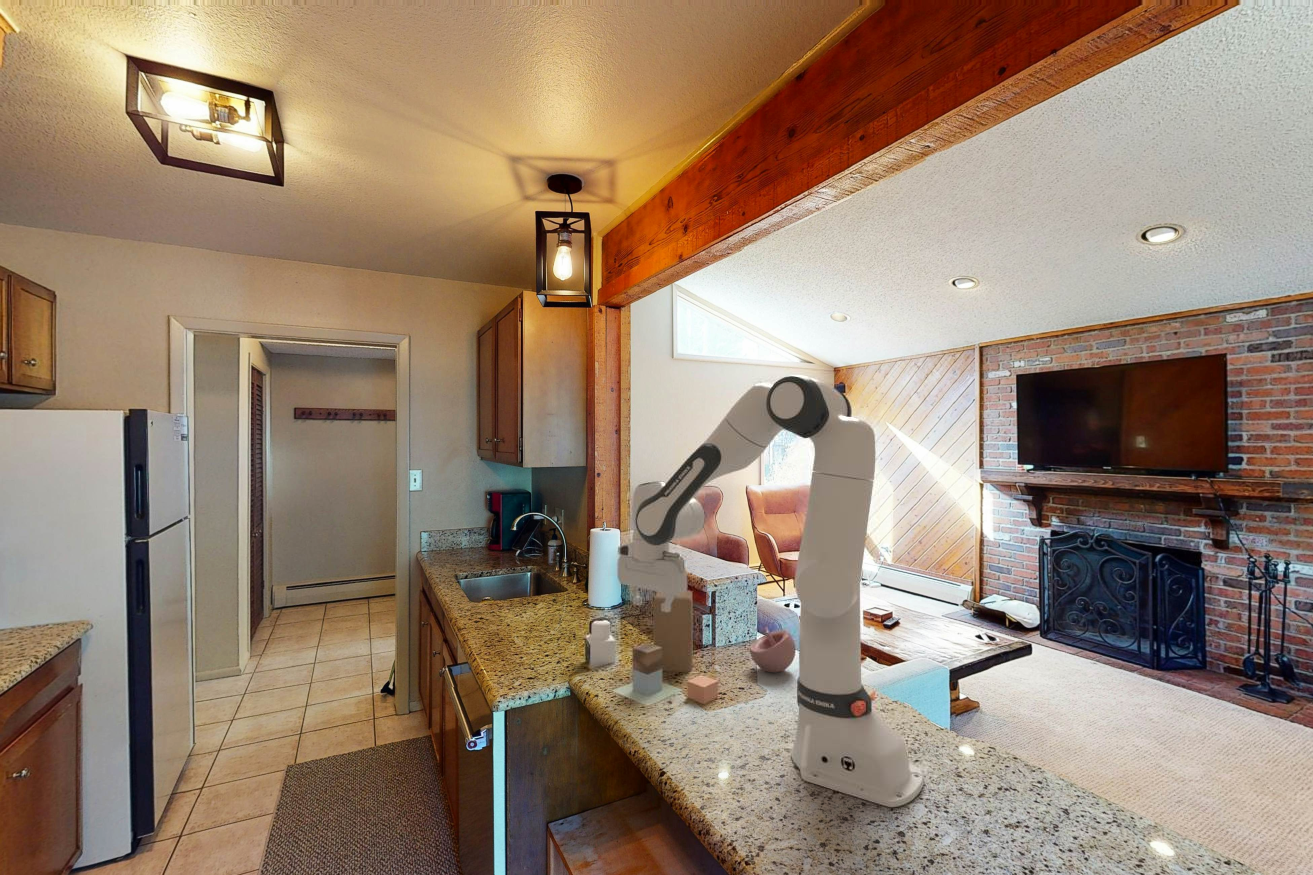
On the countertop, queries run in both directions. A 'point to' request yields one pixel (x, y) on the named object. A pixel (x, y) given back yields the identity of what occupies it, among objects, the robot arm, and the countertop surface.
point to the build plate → (629, 693)
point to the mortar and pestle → (773, 650)
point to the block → (674, 631)
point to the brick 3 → (702, 689)
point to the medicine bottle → (599, 644)
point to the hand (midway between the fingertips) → (651, 607)
